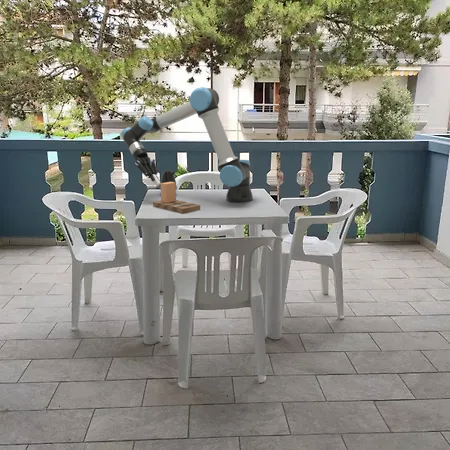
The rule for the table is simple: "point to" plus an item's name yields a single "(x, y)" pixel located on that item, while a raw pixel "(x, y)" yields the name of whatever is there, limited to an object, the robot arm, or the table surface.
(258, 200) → the table surface
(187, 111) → the robot arm
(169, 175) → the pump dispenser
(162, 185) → the fader knob
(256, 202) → the table surface
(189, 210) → the fader board
